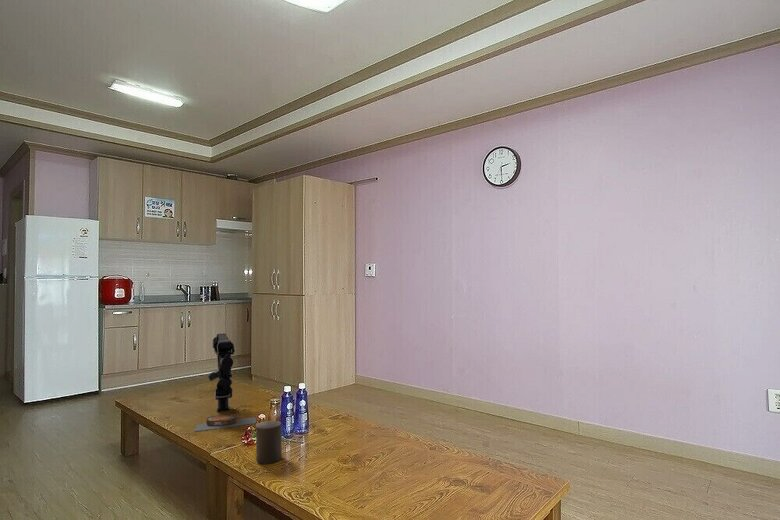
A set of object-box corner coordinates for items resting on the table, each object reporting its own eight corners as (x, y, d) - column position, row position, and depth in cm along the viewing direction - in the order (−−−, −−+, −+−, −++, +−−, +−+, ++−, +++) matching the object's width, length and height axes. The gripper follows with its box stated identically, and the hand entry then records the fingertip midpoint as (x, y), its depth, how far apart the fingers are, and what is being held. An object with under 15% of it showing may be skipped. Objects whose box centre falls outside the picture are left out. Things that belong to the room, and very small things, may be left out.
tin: (239, 414, 229) (232, 418, 220) (239, 421, 228) (232, 425, 220) (211, 415, 230) (203, 419, 222) (211, 421, 230) (202, 425, 221)
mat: (196, 425, 223) (196, 424, 223) (255, 417, 233) (255, 417, 233) (194, 431, 214) (194, 431, 214) (256, 423, 223) (256, 422, 223)
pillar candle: (272, 465, 172) (271, 425, 173) (251, 462, 175) (250, 423, 176) (286, 456, 181) (286, 418, 182) (266, 453, 184) (265, 416, 185)
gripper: (209, 362, 242) (210, 392, 242) (207, 370, 225) (208, 401, 224) (231, 361, 246) (232, 389, 246) (231, 367, 228) (232, 398, 228)
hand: (226, 394), depth 236 cm, fingers closed
